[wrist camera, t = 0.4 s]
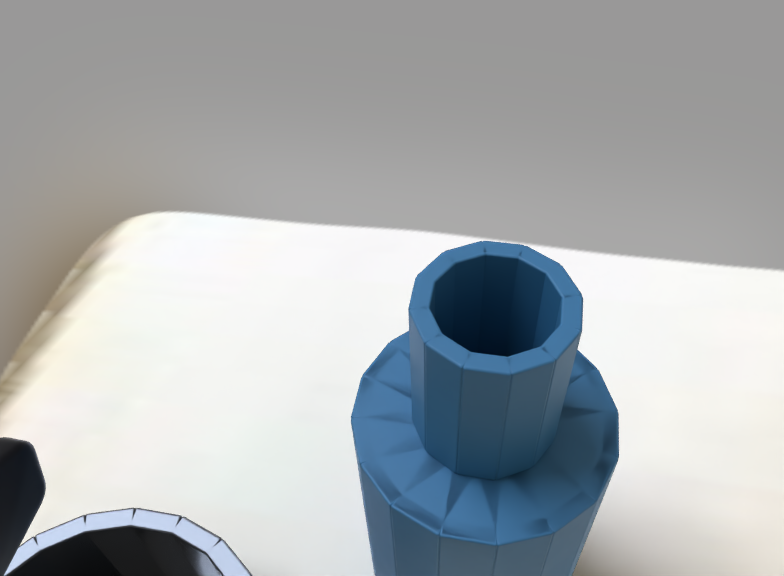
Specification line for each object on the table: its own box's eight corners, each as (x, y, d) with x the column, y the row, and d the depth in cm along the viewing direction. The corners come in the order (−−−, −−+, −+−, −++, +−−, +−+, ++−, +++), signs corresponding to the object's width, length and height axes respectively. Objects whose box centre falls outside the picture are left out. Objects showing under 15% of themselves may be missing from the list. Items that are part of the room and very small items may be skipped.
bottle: (554, 691, 22) (670, 471, 11) (358, 652, 23) (298, 416, 12) (563, 503, 26) (655, 209, 15) (395, 476, 27) (372, 181, 16)
